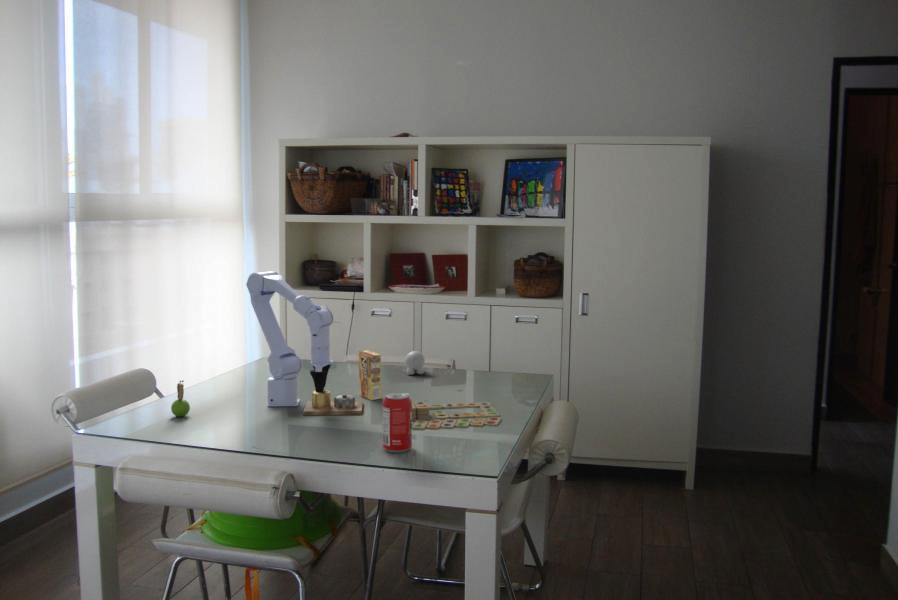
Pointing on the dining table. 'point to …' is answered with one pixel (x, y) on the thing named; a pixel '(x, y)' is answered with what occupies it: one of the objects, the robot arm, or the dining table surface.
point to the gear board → (337, 407)
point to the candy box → (370, 374)
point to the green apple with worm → (180, 403)
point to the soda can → (397, 422)
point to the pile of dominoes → (453, 416)
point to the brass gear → (321, 399)
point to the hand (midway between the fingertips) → (320, 389)
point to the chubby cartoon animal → (414, 363)
